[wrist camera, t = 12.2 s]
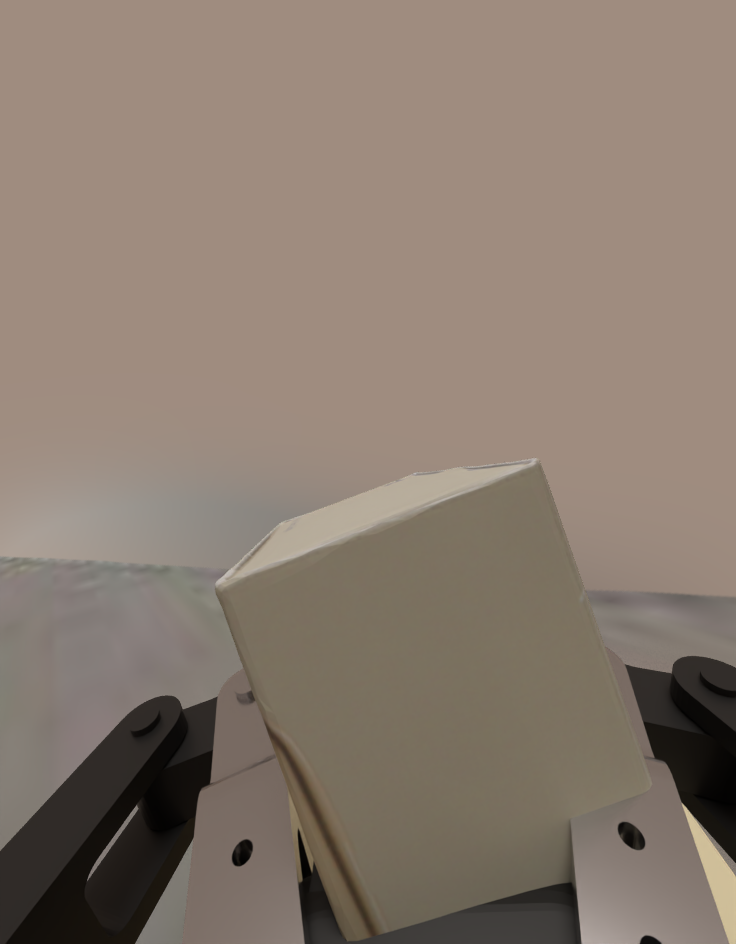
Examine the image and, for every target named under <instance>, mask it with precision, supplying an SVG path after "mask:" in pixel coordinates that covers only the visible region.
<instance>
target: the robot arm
mask: <svg viewBox="0 0 736 944" xmlns="http://www.w3.org/2000/svg"><path fill="white" fill-rule="evenodd" d="M605 648H606V651H607V654H608V657H609V660H610V663H611V666H612V668H613V671H614V674H615V677H616V680H617V683H618V686H619V688H620V691H621V694H622V697H623V700H624V703H625V705H626V708H627V711H628V714H629V717H630V720H631V722H632V725H633V728H634V731H635V734H636V737H637V739H638V742H639V745H640V748H641V751H642V754H643V756H644V759H645V762H646V765H647V768H648V771H649V774H650V777H651V781H652V785H651V787H650V789H649V790H648V791H646V792H644V793H643V794H640V795H637V796H634V797H631V798H628V799H625V800H622V801H620V802H617V803H614V804H611V805H608V806H605V807H602V808H599V809H597V810H594V811H591V812H588V813H585V814H582V815H579V816H577V817H573V818H570V851H571V875H572V882H569V883H561V884H555V885H551V886H547V887H543V888H539V889H535V890H531V891H527V892H523V893H520V894H516V895H513V896H509V897H505V898H502V899H498V900H495V901H491V902H487V903H484V904H480V905H477V906H474V907H470V908H467V909H464V910H460V911H457V912H454V913H451V914H447V915H444V916H441V917H438V918H435V919H431V920H428V921H425V922H421V923H418V924H415V925H411V926H408V927H404V928H401V929H397V930H394V931H390V932H387V933H383V934H380V935H376V936H373V937H369V938H366V939H362V940H359V941H346V940H345V939H344V938H343V936H342V934H341V932H340V930H339V927H338V924H337V922H336V919H335V916H334V914H333V911H332V908H331V905H330V903H329V900H328V897H327V895H326V892H325V889H324V887H323V884H322V881H321V879H320V876H319V873H318V871H317V868H316V865H315V862H314V860H313V857H312V854H311V852H310V849H309V846H308V843H307V841H306V838H305V835H304V832H303V830H302V827H301V824H300V821H299V818H298V815H297V813H296V810H295V807H294V804H293V801H292V799H291V796H290V793H289V790H288V787H287V785H286V782H285V779H284V776H283V773H282V771H281V768H280V765H279V762H278V760H277V757H276V754H275V751H274V749H273V746H272V743H271V740H270V738H269V735H268V732H267V729H266V726H265V724H264V721H263V718H262V715H261V713H260V710H259V708H258V705H257V703H256V701H255V698H254V696H253V693H252V690H251V687H250V685H249V682H248V679H247V676H246V673H245V671H244V669H242V670H240V671H238V672H237V673H235V674H234V675H233V676H231V677H230V678H229V679H228V680H227V681H226V682H225V684H224V685H223V686H222V688H221V690H220V692H219V694H218V697H216V698H213V699H211V700H208V701H206V702H203V703H200V704H197V705H194V706H192V707H189V708H186V709H182V706H181V704H180V701H179V700H178V699H177V698H176V697H173V696H160V697H156V698H153V699H151V700H149V701H146V702H144V703H143V704H141V705H139V706H138V707H137V708H135V709H134V710H132V711H131V712H130V713H129V714H128V715H127V716H126V717H125V718H124V719H123V720H122V721H121V722H120V723H119V724H118V725H117V726H116V727H115V728H114V729H113V730H112V731H111V732H110V734H109V735H108V736H107V737H106V738H105V739H104V740H103V741H102V742H101V743H100V744H99V745H98V746H97V748H96V749H95V750H94V751H93V752H92V753H91V754H90V755H89V756H88V757H87V758H86V759H85V760H84V762H83V763H82V764H81V765H80V766H79V767H78V768H77V769H76V770H75V771H74V772H73V773H72V774H71V775H70V777H69V778H68V779H67V780H66V781H65V782H64V783H63V784H62V785H61V786H60V787H59V788H58V789H57V791H56V792H55V793H54V794H53V795H52V796H51V797H50V798H49V799H48V800H47V801H46V802H45V803H44V805H43V806H42V807H41V808H40V809H39V810H38V811H37V812H36V813H35V814H34V815H33V816H32V817H31V819H30V820H29V821H28V822H27V823H26V824H25V825H24V826H23V827H22V828H21V829H20V830H19V831H18V833H17V834H16V835H15V836H14V837H13V838H12V839H11V840H10V841H9V842H8V843H7V844H6V845H5V847H4V848H3V849H2V850H1V851H0V944H135V943H136V941H137V939H138V937H139V935H140V933H141V932H142V930H143V928H144V926H145V924H146V923H147V921H148V919H149V917H150V915H151V914H152V912H153V910H154V908H155V906H156V905H157V903H158V901H159V899H160V897H161V896H162V894H163V892H164V890H165V888H166V887H167V885H168V883H169V881H170V879H171V878H172V876H173V874H174V872H175V870H176V869H177V867H178V865H179V863H180V861H181V860H182V858H183V856H184V854H185V852H186V850H187V849H188V847H189V845H190V843H191V841H192V840H193V849H192V858H191V867H190V876H189V886H188V895H187V904H186V914H185V923H184V932H183V942H182V944H729V941H728V938H727V935H726V932H725V929H724V926H723V923H722V920H721V917H720V915H719V912H718V909H717V906H716V903H715V900H714V897H713V894H712V891H711V888H710V885H709V882H708V879H707V876H706V873H705V870H704V867H703V864H702V862H701V859H700V856H699V853H698V850H697V847H696V844H695V841H694V838H693V835H692V832H691V829H690V826H689V823H688V820H687V817H686V814H685V811H684V808H683V806H682V803H683V805H684V806H685V807H686V808H687V809H688V810H689V811H690V812H691V814H692V815H693V816H694V817H695V818H696V819H697V820H698V821H699V822H700V824H701V825H702V826H703V827H704V828H705V829H706V830H707V831H708V833H709V834H710V835H711V836H712V837H713V838H714V839H715V840H716V841H717V843H718V844H719V845H720V846H721V847H722V848H723V849H724V850H725V852H726V853H727V854H728V855H729V856H730V857H731V858H732V859H733V861H734V862H735V863H736V668H735V667H733V666H731V665H728V664H726V663H724V662H721V661H718V660H714V659H711V658H706V657H699V656H687V657H682V658H680V659H678V660H677V661H675V663H674V664H673V669H672V674H671V673H666V672H660V671H654V670H648V669H642V668H637V667H632V666H629V665H626V664H624V663H623V661H622V660H621V659H620V658H619V657H618V655H616V654H615V653H614V652H613V651H611V650H610V649H608V648H607V647H605ZM681 802H682V803H681ZM136 805H137V806H138V808H139V809H138V811H137V812H136V814H135V815H134V816H133V818H132V819H131V821H130V822H129V823H128V825H127V826H126V828H125V829H124V830H123V832H122V833H121V835H120V836H119V838H118V839H117V840H116V842H115V843H114V845H113V846H112V847H111V849H110V850H109V852H108V853H107V854H106V856H105V857H104V859H103V860H102V861H101V863H100V864H99V866H98V867H97V869H96V870H95V871H94V873H93V874H92V876H91V877H90V878H89V880H88V881H87V879H88V876H89V874H90V871H91V869H92V867H93V866H94V864H95V862H96V860H97V859H98V858H99V856H100V855H101V853H102V852H103V850H104V849H105V848H106V846H107V845H108V844H109V842H110V841H111V839H112V838H113V837H114V835H115V834H116V832H117V831H118V830H119V828H120V827H121V826H122V824H123V823H124V821H125V820H126V819H127V817H128V816H129V814H130V813H131V812H132V810H133V809H134V808H135V806H136ZM193 838H194V839H193ZM86 882H87V883H86Z"/></svg>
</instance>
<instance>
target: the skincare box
mask: <svg viewBox="0 0 736 944" xmlns="http://www.w3.org/2000/svg"><path fill="white" fill-rule="evenodd" d="M215 591H216V595H217V597H218V599H219V602H220V604H221V606H222V608H223V611H224V614H225V617H226V620H227V622H228V625H229V628H230V631H231V634H232V637H233V640H234V642H235V645H236V648H237V651H238V654H239V657H240V659H241V662H242V665H243V668H244V671H245V673H246V676H247V679H248V682H249V685H250V687H251V690H252V693H253V696H254V698H255V701H256V703H257V705H258V708H259V710H260V713H261V715H262V718H263V721H264V724H265V726H266V729H267V732H268V735H269V738H270V740H271V743H272V746H273V749H274V751H275V754H276V757H277V760H278V762H279V765H280V768H281V771H282V773H283V776H284V779H285V782H286V785H287V787H288V790H289V793H290V796H291V799H292V801H293V804H294V807H295V810H296V813H297V815H298V818H299V821H300V824H301V827H302V830H303V832H304V835H305V838H306V841H307V843H308V846H309V849H310V852H311V854H312V857H313V860H314V862H315V865H316V868H317V871H318V873H319V876H320V879H321V881H322V884H323V887H324V889H325V892H326V895H327V897H328V900H329V903H330V905H331V908H332V911H333V914H334V916H335V919H336V922H337V924H338V927H339V930H340V932H341V934H342V936H343V938H344V939H345V940H346V941H359V940H362V939H366V938H369V937H373V936H376V935H380V934H383V933H387V932H390V931H394V930H397V929H401V928H404V927H408V926H411V925H415V924H418V923H421V922H425V921H428V920H431V919H435V918H438V917H441V916H444V915H447V914H451V913H454V912H457V911H460V910H464V909H467V908H470V907H474V906H477V905H480V904H484V903H487V902H491V901H495V900H498V899H502V898H505V897H509V896H513V895H516V894H520V893H523V892H527V891H531V890H535V889H539V888H543V887H547V886H551V885H555V884H561V883H569V882H572V875H571V851H570V818H573V817H577V816H579V815H582V814H585V813H588V812H591V811H594V810H597V809H599V808H602V807H605V806H608V805H611V804H614V803H617V802H620V801H622V800H625V799H628V798H631V797H634V796H637V795H640V794H643V793H644V792H646V791H648V790H649V789H650V787H651V785H652V781H651V777H650V774H649V771H648V768H647V765H646V762H645V759H644V756H643V754H642V751H641V748H640V745H639V742H638V739H637V737H636V734H635V731H634V728H633V725H632V722H631V720H630V717H629V714H628V711H627V708H626V705H625V703H624V700H623V697H622V694H621V691H620V688H619V686H618V683H617V680H616V677H615V674H614V671H613V668H612V666H611V663H610V660H609V657H608V654H607V651H606V648H605V646H604V643H603V640H602V637H601V634H600V631H599V628H598V626H597V623H596V620H595V617H594V614H593V611H592V608H591V606H590V603H589V600H588V597H587V594H586V591H585V588H584V585H583V582H582V579H581V577H580V574H579V571H578V568H577V565H576V562H575V559H574V557H573V554H572V551H571V548H570V545H569V543H568V540H567V537H566V534H565V531H564V528H563V525H562V522H561V519H560V516H559V513H558V510H557V508H556V505H555V502H554V499H553V496H552V493H551V490H550V487H549V485H548V482H547V479H546V476H545V474H544V471H543V468H542V466H541V463H540V460H539V459H537V458H533V459H529V460H520V461H515V462H509V463H501V464H493V465H484V466H475V467H458V468H452V469H448V470H442V471H433V472H424V473H419V472H416V473H413V474H411V475H409V476H407V477H404V478H402V479H399V480H396V481H394V482H391V483H388V484H385V485H383V486H380V487H377V488H375V489H372V490H370V491H367V492H364V493H361V494H359V495H356V496H353V497H351V498H348V499H345V500H343V501H340V502H338V503H335V504H332V505H329V506H327V507H324V508H321V509H318V510H316V511H313V512H310V513H308V514H305V515H302V516H299V517H296V518H293V519H289V520H286V521H284V522H281V523H280V524H278V526H277V527H275V528H274V529H273V530H272V531H271V532H270V533H269V534H268V535H267V536H266V537H264V538H263V540H261V541H260V542H259V543H258V544H257V545H256V546H255V547H253V548H252V550H251V551H250V552H249V553H248V554H246V555H245V556H244V557H243V558H242V559H241V560H240V561H239V562H238V563H237V564H236V565H235V566H234V567H233V568H232V569H230V570H229V571H227V573H226V574H225V575H224V576H223V577H222V578H220V579H219V580H217V582H216V584H215Z"/></svg>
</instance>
